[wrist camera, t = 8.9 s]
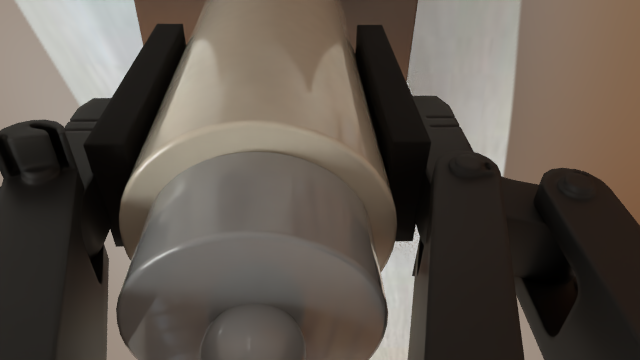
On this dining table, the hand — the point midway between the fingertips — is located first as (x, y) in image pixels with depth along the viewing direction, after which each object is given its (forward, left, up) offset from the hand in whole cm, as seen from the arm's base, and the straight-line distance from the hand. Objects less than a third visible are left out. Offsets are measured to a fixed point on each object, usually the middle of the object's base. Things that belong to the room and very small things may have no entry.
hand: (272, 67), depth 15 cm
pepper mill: (0, 0, -6) cm, 6 cm away
